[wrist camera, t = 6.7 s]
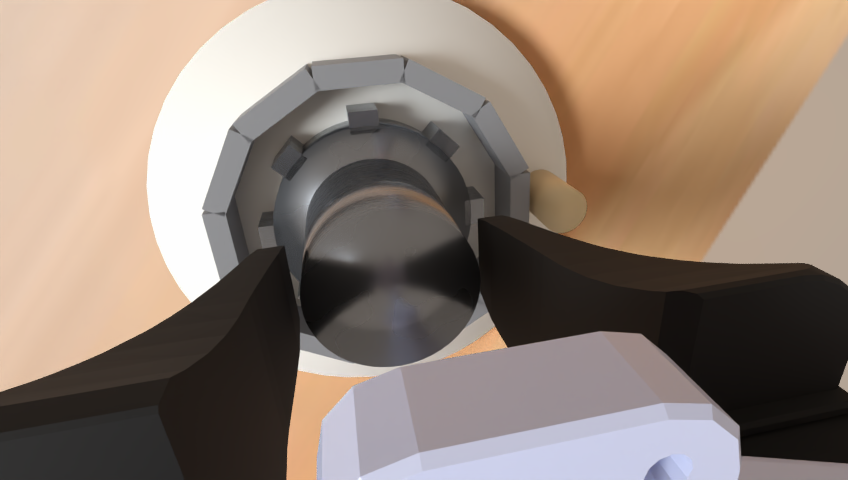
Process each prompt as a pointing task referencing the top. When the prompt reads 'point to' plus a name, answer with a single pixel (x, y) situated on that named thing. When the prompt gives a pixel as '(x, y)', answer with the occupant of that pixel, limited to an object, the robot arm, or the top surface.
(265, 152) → the plate
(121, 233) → the top surface
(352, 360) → the planet gear
